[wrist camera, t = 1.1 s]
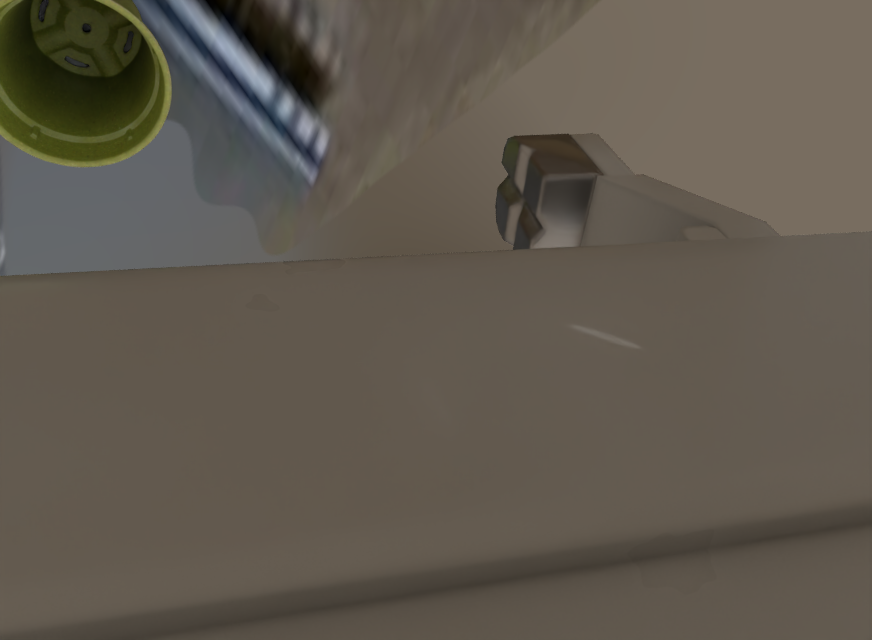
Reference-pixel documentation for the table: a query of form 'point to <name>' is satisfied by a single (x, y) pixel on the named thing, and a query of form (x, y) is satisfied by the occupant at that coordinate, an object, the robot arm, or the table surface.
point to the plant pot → (80, 81)
